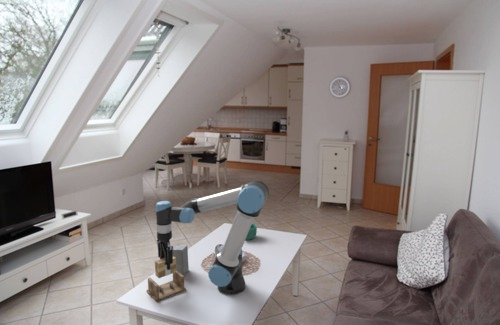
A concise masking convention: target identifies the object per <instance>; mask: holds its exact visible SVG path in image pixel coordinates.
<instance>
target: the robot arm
mask: <svg viewBox="0 0 500 325" xmlns="http://www.w3.org/2000/svg"><path fill="white" fill-rule="evenodd" d="M269 197H270V188H269V185H267V183H265V182H264V181H263V180H258V179H256V180H252V181H250V182H248V183H243V184H242V185H241V186H240V187H236V188H233V189H229V190H225V191H222V192H218V193H214V194H211V195H206V196H202V197H199V198H191V199H190V200H188V201H187V202H185V203H184V204H182V205H181V206H172V203H171V201H169V200H161V201H158V202H156V204H155V218H156V224H155V225H156V226H155V227H156V243H157V254H158V255H157V256H158V258H159V260H160V259H163V258H165V261H166V263H165V276H164V277H167V276H169V275H172V274H171V269H170V264H172V263H173V249H174V246H173V245H171V242H170V241H171V239H172V237H173V230H172V229H173V227H172V226H173V222H174V223H175V222H176V223H182V224H191V223H193V221H194V219H195V215H197V214H201V213H203V212H208V211H211V210H216V209H219V208H220V209H221V208H224V207H228V206H231V205H235V204H236V205H235V210H236V211H237V212H236V214H235V217H234V219H233V221H232V225H231V227H230V229H229V232H228V234H227V236H226V239H225V241H224V244H223V246H222V247H220V251H219V252H218V253H217V254H216V257H215V259H214V261H213V264H212V265H211V266H210V268H209V269H208V273H207V274H208V275H207V276H208V278H209V280H210V282H211V283H212V284H213V285H214V286H216V287H217V290H218V291H219V292H220V293H222V294H225V295H238V294H241V293H243V292H244V290H245V289H246V281H245V278H244V275H243V274H244V273H243V254H244V253H243V246H244V244H245V241H246V240H247V239H246V237H247V234H248V232H249V230H250V227H251V225H252V223H254V221H255V218H256V219H257V218H258V217H260V214H261V211H262V208H263V207H264V204H265V203H266V202H267V200H268V199H269Z"/></svg>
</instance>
